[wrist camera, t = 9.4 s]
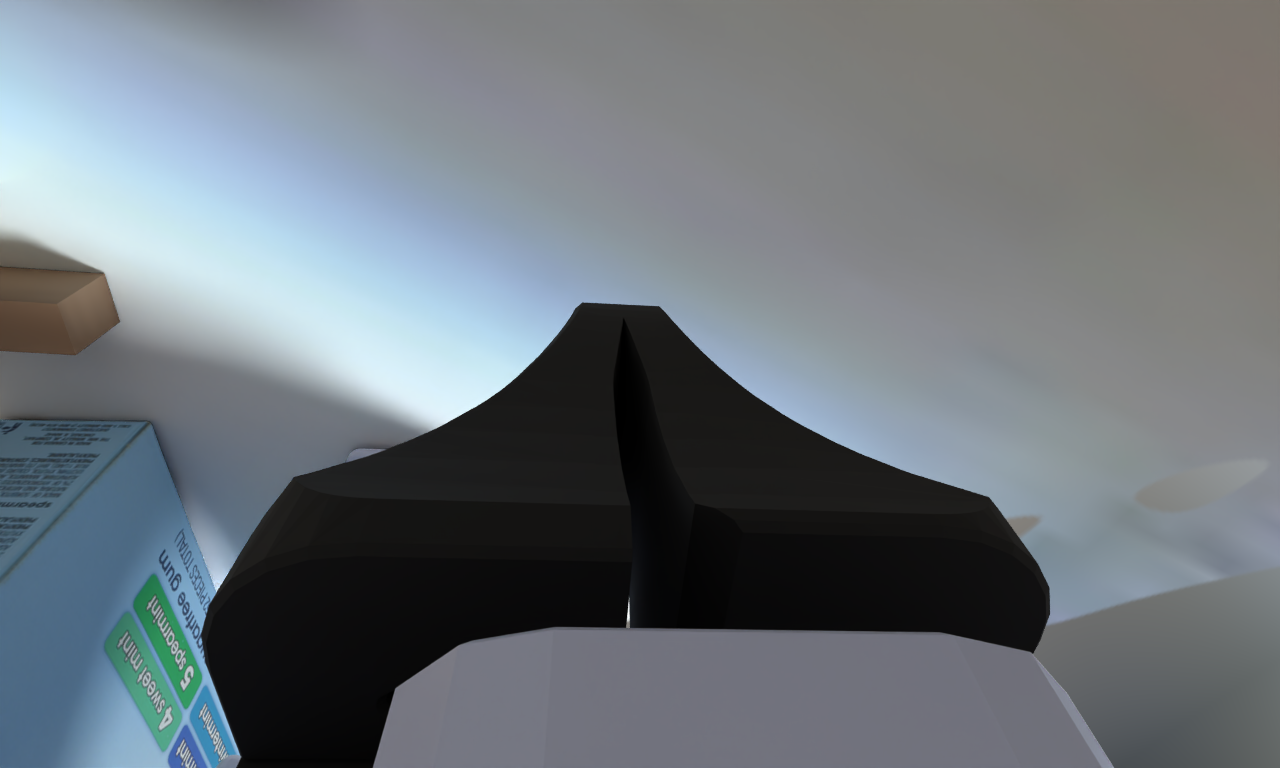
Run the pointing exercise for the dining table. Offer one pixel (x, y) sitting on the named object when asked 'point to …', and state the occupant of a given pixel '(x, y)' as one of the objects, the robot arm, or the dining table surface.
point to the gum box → (101, 604)
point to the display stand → (53, 310)
